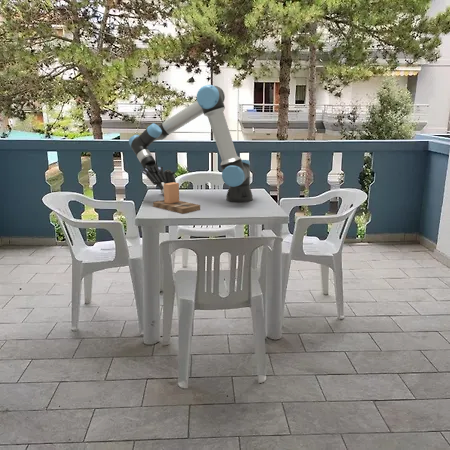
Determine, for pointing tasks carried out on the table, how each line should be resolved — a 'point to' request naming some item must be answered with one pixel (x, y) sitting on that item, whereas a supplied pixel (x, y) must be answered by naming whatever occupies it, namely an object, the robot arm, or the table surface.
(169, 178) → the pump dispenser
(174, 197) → the fader knob
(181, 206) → the fader board
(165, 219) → the table surface
